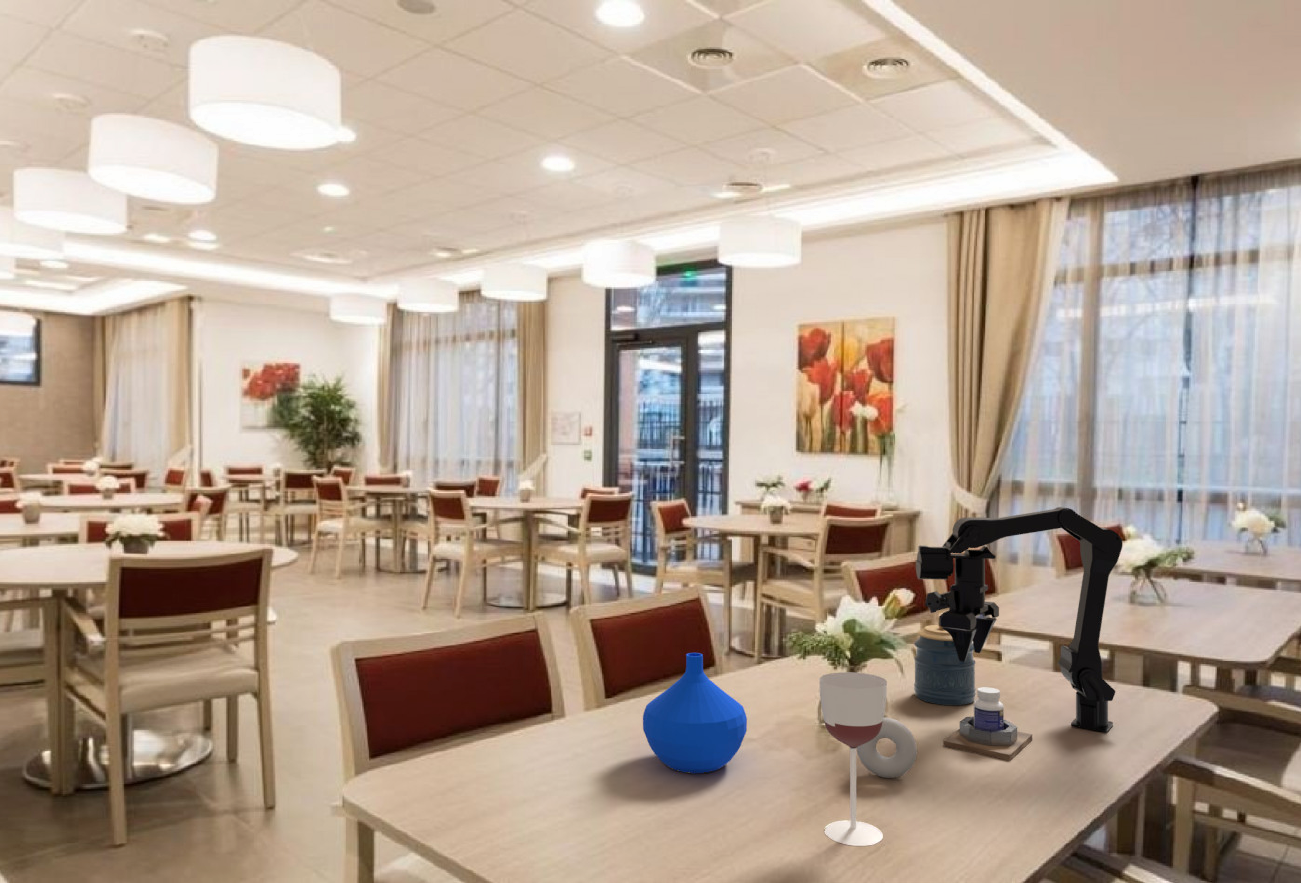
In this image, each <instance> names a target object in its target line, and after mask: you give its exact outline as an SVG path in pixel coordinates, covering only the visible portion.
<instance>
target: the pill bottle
mask: <svg viewBox="0 0 1301 883" xmlns="http://www.w3.org/2000/svg"><path fill="white" fill-rule="evenodd" d="M1000 692H1001V691H1000V690H999V689H998V688H995V687H989V686H988V687H986V686H983V687H982V686H981V687H978V688H977V689H976V695H977V696H976V697H977V698H978V699H975V700H974V701H973V717H974V727H975V728H980V729H985V730H1004V720H1005V717H1004V714H1005V713H1004V712H1005V711H1004V704H1003V703H1002V702H1001V701H999V700H1000V699H1001V698H1000V697H1001V693H1000Z"/></svg>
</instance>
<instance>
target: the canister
mask: <svg viewBox="0 0 1301 883" xmlns="http://www.w3.org/2000/svg"><path fill="white" fill-rule="evenodd" d="M917 634H918V636H919V637H918V638H917V639H916V640H915V641H914V642H913V645H914V647H915V648H916V651H915V655H916V657H915V655H914V657H913V660H914V683H913V686H914V687H913V690H914V694H915V697H916V698H918V699H919V700H922V701H924V702H926V703H931V704H936V705H944V706H963V705H968V704H972V703H974V702H975V699H976V698H975V697H976V695H977V689H976V680H975V679H976V678H975V677H976V676H975V674H976V670H975V668H976V660H975V659H974V652H975V651H974V646H973V642H972V644H971V647H970V650H969V653H968V655H967V658H966V661H965V662H962V661H959V658H958V655H957V652H956V648H955V645H954V642H953V639H952V636H951V635H950V634H949V633H948V632H947V631H946V630H943V628H942V627H941V626H939V621H938V622H937V624H931V625H926V626H924V627H923V628H922V629H920V630H919V631H917Z"/></svg>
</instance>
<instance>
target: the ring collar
mask: <svg viewBox="0 0 1301 883" xmlns="http://www.w3.org/2000/svg"><path fill="white" fill-rule="evenodd" d="M959 729H960V736H962V737H963V738H964V739H966V740H967V741H969V742H972V743H977V744H982V745H986V746H1011V745H1012V744H1013V743H1015V742H1016V741H1017V731H1018V726H1017V725H1015V724H1014V723H1012V722H1011V721H1009V720H1007V719H1004V730H985V729H980V728H975V727H974V716H966V717H964V718H962V719H961V720H960V721H959Z"/></svg>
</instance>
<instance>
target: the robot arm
mask: <svg viewBox="0 0 1301 883" xmlns="http://www.w3.org/2000/svg"><path fill="white" fill-rule="evenodd" d="M1058 529H1063V531H1065V532H1066V533H1067V534H1069V536H1071V537H1073V538H1074V539H1075V540H1077V541H1078V542H1079V544H1080V545H1079V546H1080V548H1079V549H1080V550H1079V551H1080V557H1081V558H1080V559H1081V564H1082V567H1083V573H1082V574H1083V575H1082V581H1081V587H1080V594H1079V600H1078V606H1077V607H1078V608H1077V615H1076V621H1075V626H1074V633H1073V634H1074V635H1073V639H1072V640H1071V642H1070V644H1069V645H1068V646H1066V645H1063V644H1062V645H1060V657H1059V660H1058V662H1057V665H1059V666H1060V671H1061V674H1062V676H1063V677H1064V678H1065V680H1067V681H1068V682H1069V683H1070V685H1071V687H1072V689H1074V690H1075V691H1076V692H1075V718H1074V719H1073V720H1072V721H1071V722H1070V726H1071V727H1075V728H1081V729H1087V730H1091V731H1092V730H1093V731H1096V732H1103V733H1107V732H1109V730H1110V729H1111V728H1112V726H1114V722H1113V721H1110V720H1109V702H1112V701H1113V699H1114V697H1115V695H1116V690H1115V689H1114V688H1113V687H1112V686H1111V685H1110V684H1109V683H1108V682H1107V681H1106V680H1105V679H1103V661H1102V655H1101V650H1100V648H1099V645H1100V644H1099V642H1100V636H1101V631H1102V630H1101V629H1102V624H1103V616H1104V615H1103V614H1104V611H1105V604H1106V596H1107V592H1108V591H1107V590H1108V583H1109V578H1110V574H1111V573H1112V571H1113V570H1114V568H1115V567H1116V566H1117V563H1118V561H1119V558H1120V555H1121V552H1122V550H1123V546H1124V545H1123V539H1122V538H1121V536H1120V535H1119V533H1117V532H1116V531H1115V530H1112V529H1109V528H1104V527H1101V526H1098V525H1097V524H1095V523H1093V522H1092V521H1090V520H1088V519H1087V518H1085V517H1084V516H1081V515H1080V514H1078V513H1077V512H1076V511H1075V510H1074V509H1072V508H1069V507H1064V506H1058V507H1056V508H1053V509H1047V510H1040V511H1034V512H1033V511H1032V512H1028V513H1023V514H1016V515H1009V516H1003V517H972V516H970V517H969V516H968V517H962V518H959V519H957V520H956V521H955V523H954V524H953V527H952V533H951V534H950V536H949V537H948V538H947V540H946V541H945V542H944V543H943V545H942V546H928V545H919V546H918V549H917V550H918V552H917V554H916V555H917V556H916V560H915V570H916V571H915V574H916V577H917V579H918V580H943V581H944V580H945V581H947V580H948V579H949V577H951V576H952V575H953V574H954V584H951V586H950V588H949V591H947V592H943V593H939V592H938V591H937V590H935V591H932V592H927V593H926V597H925V599H924V600H925V603H924V605H925V607H926V608H928V609H929V612H930V613H931V614H934V613H936V612H938V611H940V610H941V611H942V610H945V609H949V610H946V611H945V612H942V613H941V614H940V615H939V617H938V622H939V626H941V627H942V628H943V630H946V631H947V632H948V633H949V634H950V635H951V636H952V639H953V642H954V645H955V648H956V652H957V655H958V658H959V661H962V662H965V661H966V658H967V655H968V653H969V650H970V647H971V644H972V643H973V646H974V651H973V652H974V653H976V654H981V652H982V650H983V648H984V646H985V644H986V641H987V639H988V637H989V636H990V633H991V632H992V629H993V627H994V625H995V624H996V621H997V620H998V619H997V617H999V616H1000V607H999V606H998V605H997V604H996V602H994V601H993V602H992V601H986V600H985V599H986V596H985V595H986V592H987V591H988V590H989V585H988V584H986V571H985V570H986V569H985V568H986V564H985V562H986V560H995V559H996V554H994V553H992V551H990V549H989V548H988V546H986V545H990V544H993V543H994V542H996V541H999V540H1000V539H1001V540H1002V539H1005V538H1006V537H1008V538H1009V537H1014V536H1020V535H1025V534H1027V535H1028V534H1033V533H1039V532H1044V531H1050V530H1052V531H1053V530H1058ZM977 548H979V549H977ZM990 616H991V617H990Z"/></svg>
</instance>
